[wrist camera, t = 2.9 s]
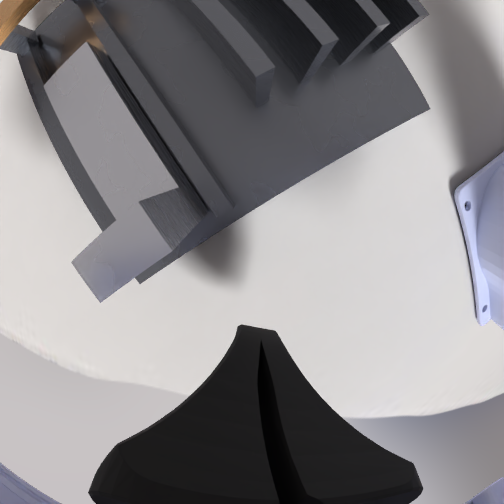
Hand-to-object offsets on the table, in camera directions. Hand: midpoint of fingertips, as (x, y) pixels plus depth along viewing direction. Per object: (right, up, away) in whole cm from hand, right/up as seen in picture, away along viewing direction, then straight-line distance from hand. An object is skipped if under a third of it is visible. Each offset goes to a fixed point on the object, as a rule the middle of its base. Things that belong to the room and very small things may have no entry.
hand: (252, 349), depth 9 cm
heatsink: (-3, +12, -1) cm, 12 cm away
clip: (-5, +8, -1) cm, 9 cm away
